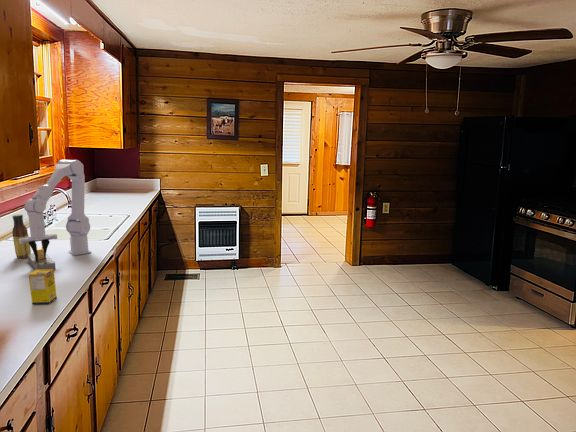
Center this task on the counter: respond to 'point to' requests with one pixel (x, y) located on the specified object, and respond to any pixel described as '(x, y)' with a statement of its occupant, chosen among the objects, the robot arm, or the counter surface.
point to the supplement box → (42, 286)
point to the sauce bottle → (19, 233)
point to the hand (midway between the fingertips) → (40, 257)
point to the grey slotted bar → (41, 262)
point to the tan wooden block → (40, 253)
